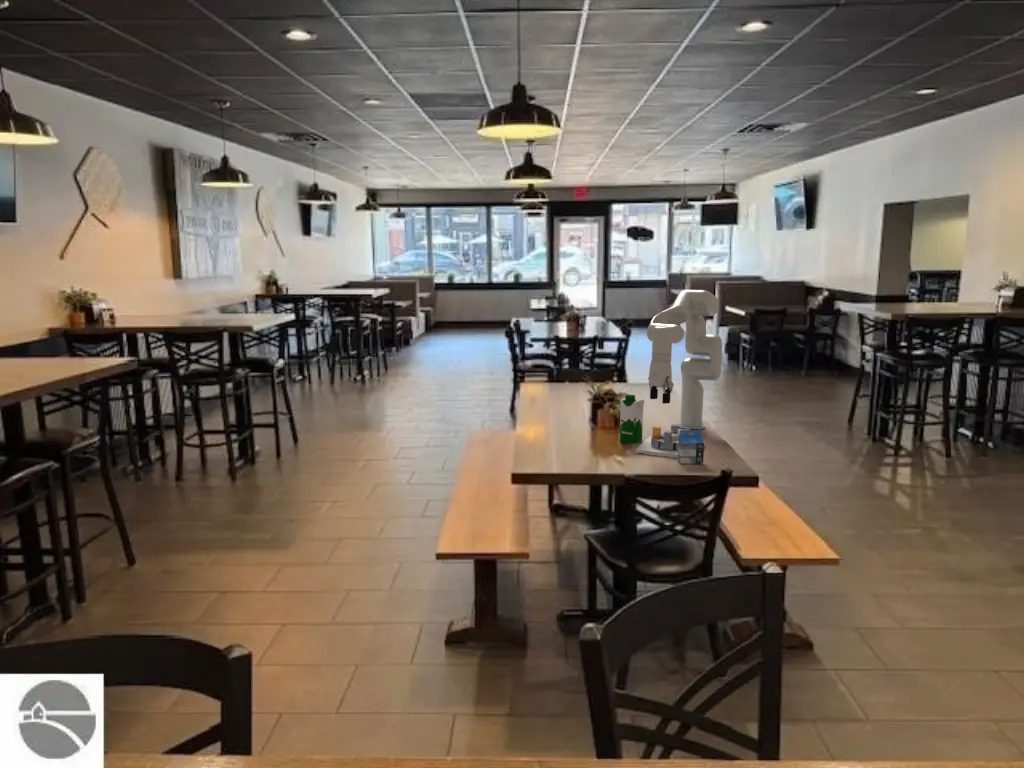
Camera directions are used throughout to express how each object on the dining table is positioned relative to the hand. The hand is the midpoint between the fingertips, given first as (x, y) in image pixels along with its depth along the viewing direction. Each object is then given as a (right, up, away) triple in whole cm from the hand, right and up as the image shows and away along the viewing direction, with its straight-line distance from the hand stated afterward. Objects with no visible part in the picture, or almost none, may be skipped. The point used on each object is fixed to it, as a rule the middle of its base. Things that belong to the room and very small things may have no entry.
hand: (659, 400), depth 290 cm
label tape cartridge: (+9, -23, -13) cm, 28 cm away
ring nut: (+6, -18, +5) cm, 20 cm away
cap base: (+6, -20, +6) cm, 21 cm away
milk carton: (-8, -18, +18) cm, 27 cm away
